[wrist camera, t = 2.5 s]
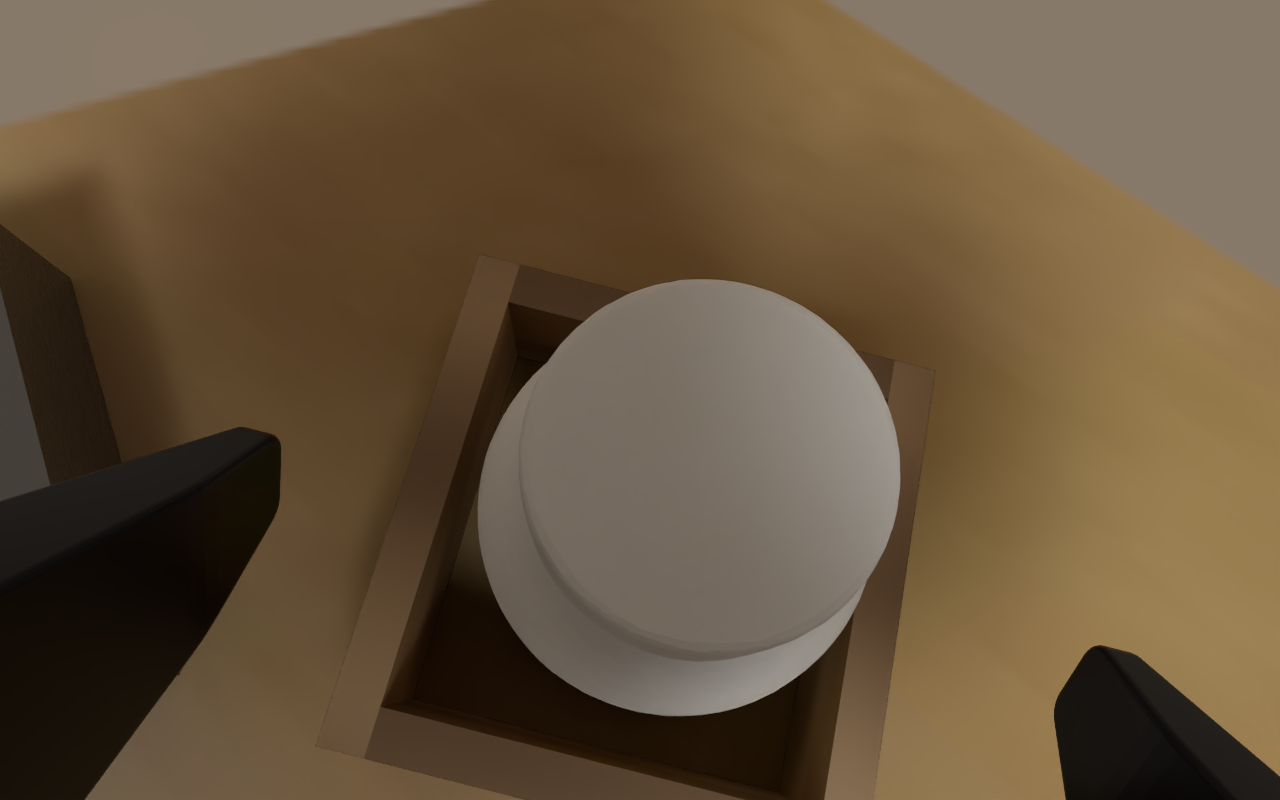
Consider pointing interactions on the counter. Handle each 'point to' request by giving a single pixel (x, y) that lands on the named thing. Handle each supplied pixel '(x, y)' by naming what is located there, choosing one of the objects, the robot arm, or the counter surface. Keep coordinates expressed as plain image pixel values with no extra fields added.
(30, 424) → the dock collar
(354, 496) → the counter surface
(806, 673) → the holder sleeve
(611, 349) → the supplement bottle
